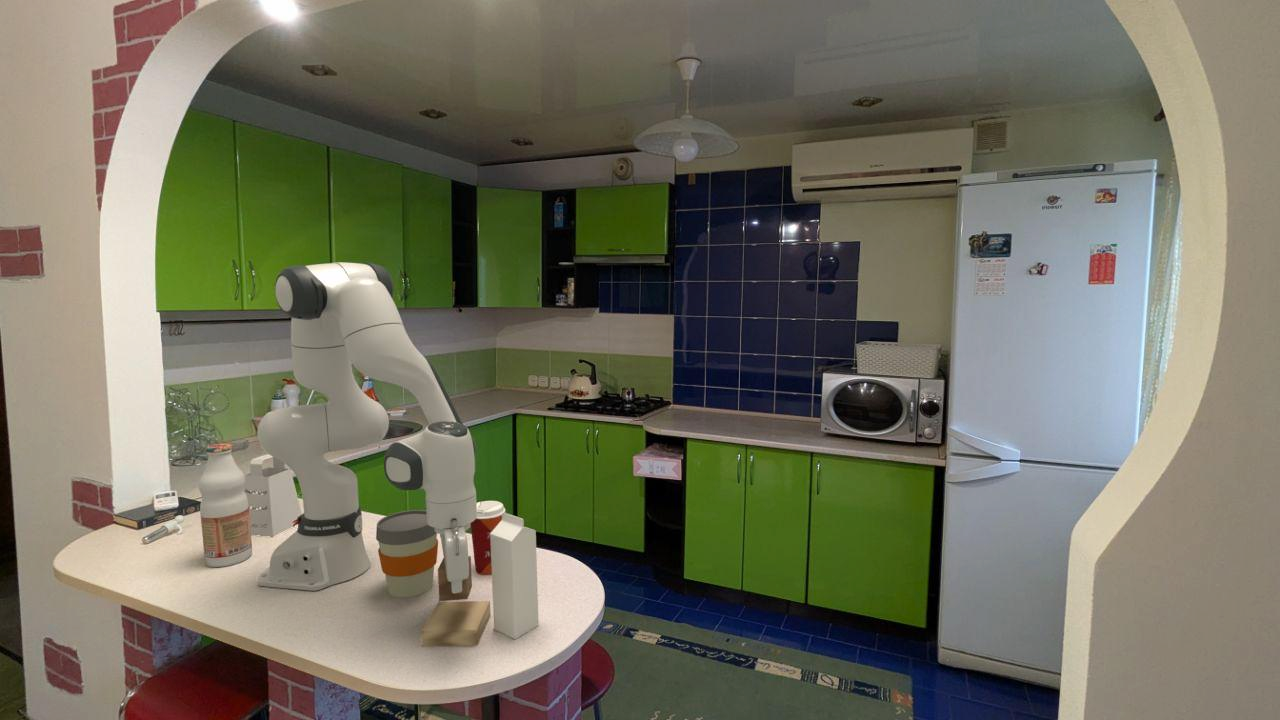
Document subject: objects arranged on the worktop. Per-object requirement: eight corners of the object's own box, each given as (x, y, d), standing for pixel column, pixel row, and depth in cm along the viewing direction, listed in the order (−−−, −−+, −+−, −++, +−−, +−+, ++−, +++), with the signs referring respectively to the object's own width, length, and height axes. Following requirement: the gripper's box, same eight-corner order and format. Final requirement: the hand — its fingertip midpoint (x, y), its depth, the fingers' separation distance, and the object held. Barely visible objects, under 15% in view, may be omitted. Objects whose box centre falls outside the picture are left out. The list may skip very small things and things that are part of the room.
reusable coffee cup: (417, 605, 120) (413, 534, 119) (366, 597, 124) (361, 528, 122) (453, 577, 132) (450, 512, 131) (405, 570, 136) (401, 507, 134)
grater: (240, 534, 157) (233, 460, 155) (272, 519, 167) (266, 450, 165) (273, 537, 155) (267, 463, 153) (304, 522, 165) (298, 452, 163)
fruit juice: (196, 569, 137) (184, 451, 134) (218, 552, 146) (208, 441, 143) (240, 566, 138) (230, 449, 135) (259, 549, 148) (250, 439, 144)
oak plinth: (421, 646, 106) (420, 630, 106) (439, 616, 116) (438, 601, 116) (477, 645, 106) (476, 629, 106) (490, 615, 116) (489, 601, 116)
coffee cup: (498, 578, 131) (495, 513, 130) (463, 575, 133) (461, 511, 131) (513, 562, 139) (511, 500, 138) (481, 559, 141) (478, 498, 139)
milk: (517, 615, 116) (514, 507, 114) (539, 625, 113) (536, 513, 111) (493, 629, 112) (489, 516, 109) (514, 640, 108) (511, 523, 106)
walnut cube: (439, 601, 108) (437, 569, 107) (445, 587, 112) (443, 557, 112) (467, 599, 108) (466, 567, 107) (472, 586, 113) (470, 556, 112)
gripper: (475, 528, 100) (479, 605, 102) (464, 492, 119) (467, 557, 121) (436, 534, 98) (440, 613, 99) (431, 496, 117) (434, 563, 118)
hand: (455, 582), depth 110 cm, fingers closed on walnut cube, 6 cm apart
